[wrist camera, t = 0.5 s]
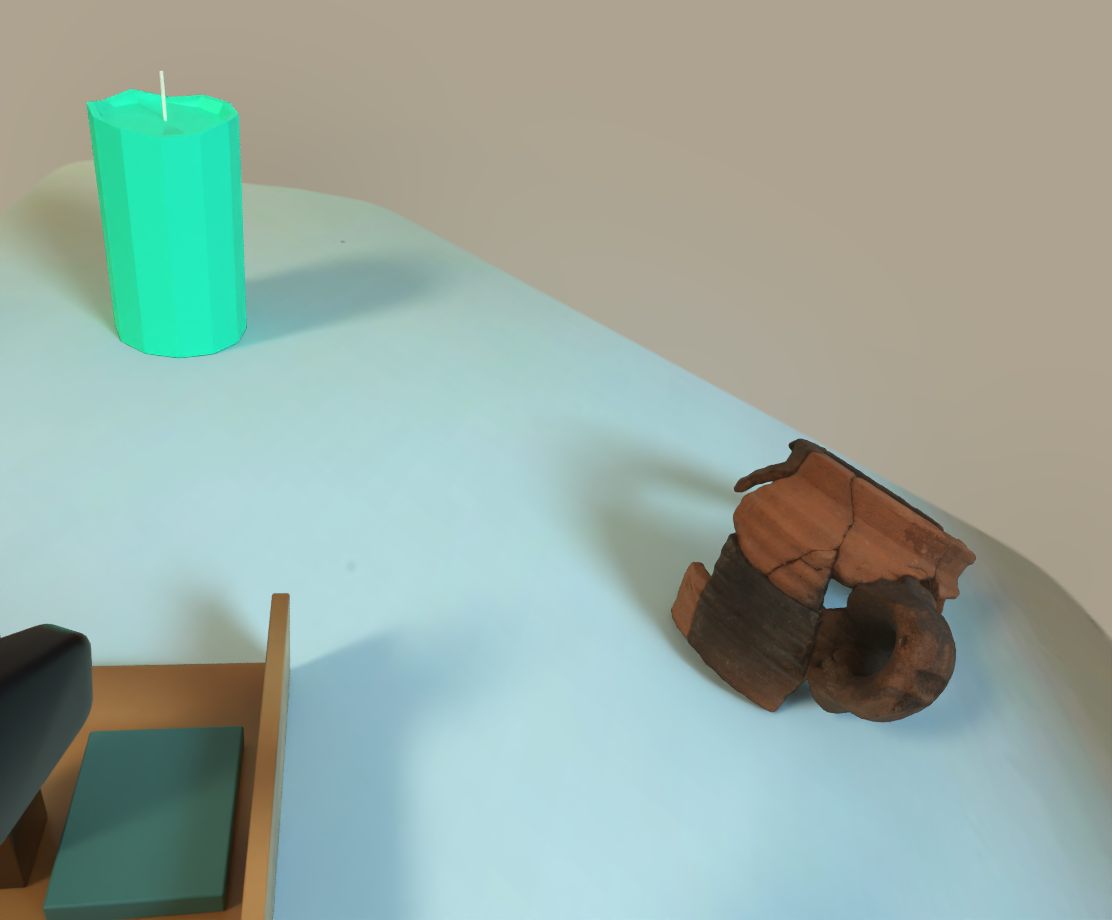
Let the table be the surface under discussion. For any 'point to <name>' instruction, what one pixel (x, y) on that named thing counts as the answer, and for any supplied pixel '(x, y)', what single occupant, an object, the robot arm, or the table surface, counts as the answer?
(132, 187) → the candle
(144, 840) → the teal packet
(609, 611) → the table surface
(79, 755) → the tray
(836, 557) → the pottery mug
